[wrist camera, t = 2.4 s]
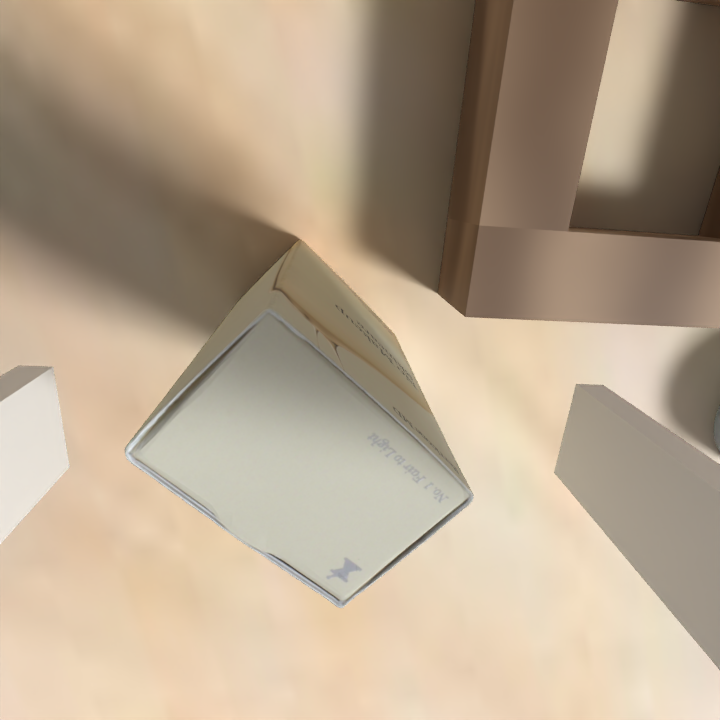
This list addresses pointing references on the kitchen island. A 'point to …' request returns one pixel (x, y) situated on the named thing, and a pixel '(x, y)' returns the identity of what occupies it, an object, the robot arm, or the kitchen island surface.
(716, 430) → the light blue rounded block
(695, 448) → the robot arm
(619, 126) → the kitchen island surface
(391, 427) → the skincare box
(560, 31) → the socket block
